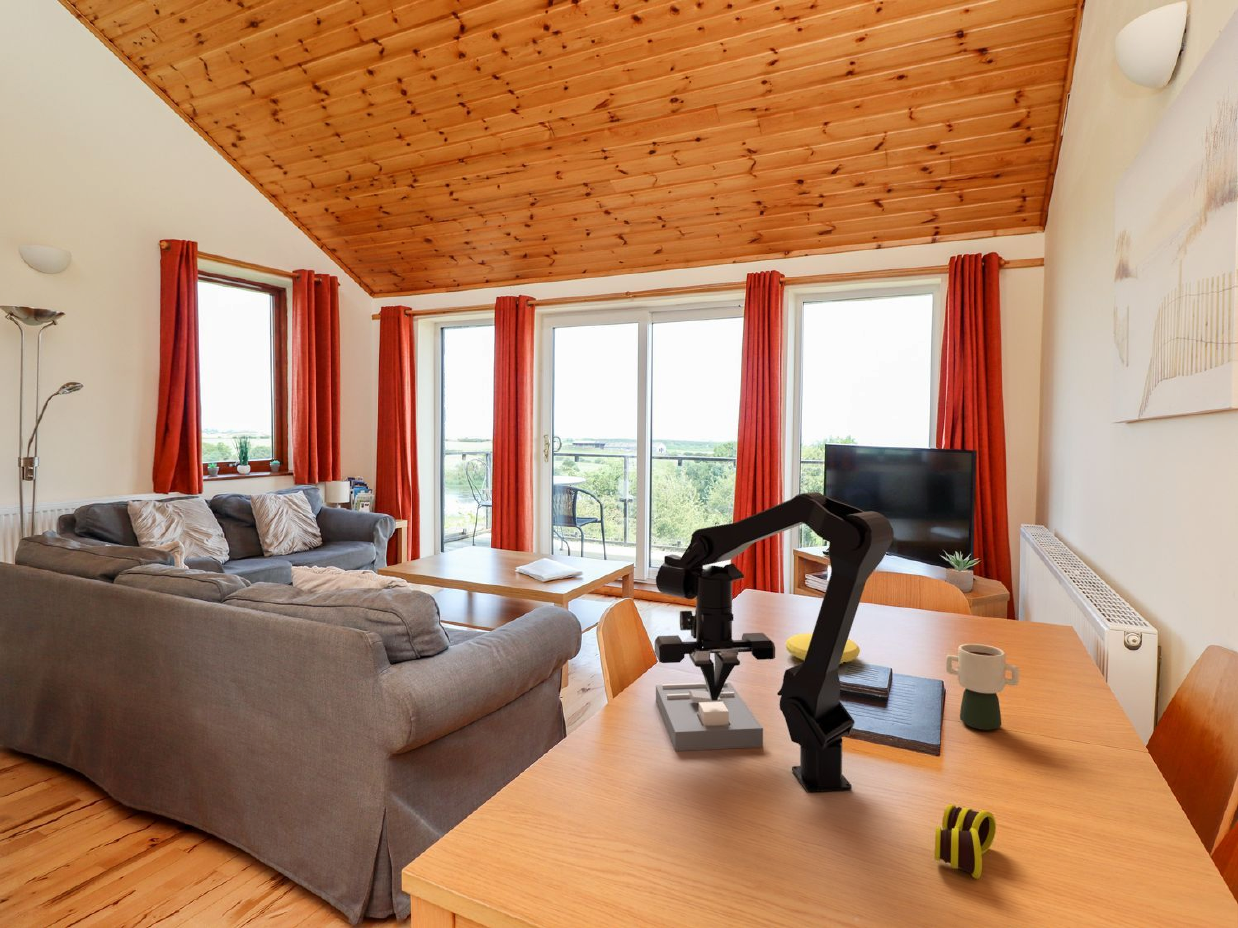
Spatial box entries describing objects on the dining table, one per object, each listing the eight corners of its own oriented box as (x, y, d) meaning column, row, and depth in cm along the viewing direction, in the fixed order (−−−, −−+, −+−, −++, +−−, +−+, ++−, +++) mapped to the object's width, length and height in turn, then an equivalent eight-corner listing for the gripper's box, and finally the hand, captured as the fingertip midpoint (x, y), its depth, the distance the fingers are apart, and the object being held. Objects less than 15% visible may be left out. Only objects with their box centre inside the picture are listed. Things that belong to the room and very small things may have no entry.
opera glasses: (948, 831, 85) (948, 791, 84) (996, 846, 81) (997, 805, 81) (928, 870, 77) (929, 827, 77) (980, 889, 74) (981, 844, 73)
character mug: (1019, 726, 115) (1021, 650, 114) (1014, 741, 109) (1016, 661, 108) (949, 711, 121) (950, 638, 120) (940, 724, 115) (942, 649, 115)
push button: (728, 727, 109) (728, 711, 108) (704, 728, 108) (704, 712, 108) (722, 716, 113) (722, 701, 112) (698, 717, 112) (698, 702, 112)
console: (762, 746, 107) (763, 724, 107) (675, 750, 106) (675, 728, 106) (729, 698, 127) (730, 679, 127) (655, 701, 126) (655, 681, 126)
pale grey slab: (720, 705, 115) (721, 699, 115) (692, 702, 115) (693, 696, 115) (715, 698, 119) (716, 692, 119) (688, 695, 118) (689, 689, 118)
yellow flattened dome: (876, 666, 145) (876, 633, 145) (815, 675, 139) (815, 641, 139) (827, 645, 160) (828, 615, 159) (770, 653, 154) (771, 622, 154)
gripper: (755, 591, 118) (755, 679, 119) (649, 594, 117) (649, 683, 117) (776, 607, 107) (776, 704, 108) (659, 610, 106) (659, 709, 106)
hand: (713, 699), depth 110 cm, fingers closed
